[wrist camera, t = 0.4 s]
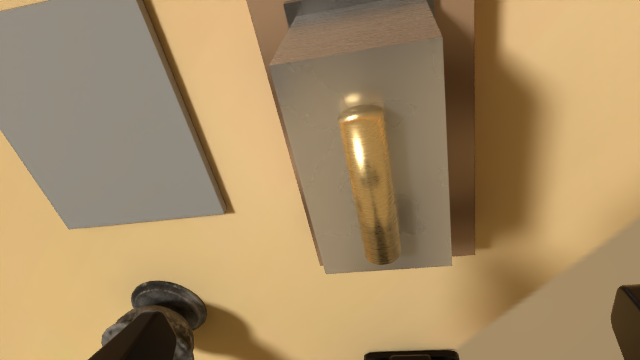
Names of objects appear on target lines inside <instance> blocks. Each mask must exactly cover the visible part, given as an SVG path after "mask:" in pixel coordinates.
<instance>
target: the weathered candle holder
mask: <svg viewBox="0 0 640 360" xmlns="http://www.w3.org/2000/svg"><path fill="white" fill-rule="evenodd" d="M131 302H132V306H133V308H134V309H132V310H131V311H129V312H127V313H126V314H125V315H124V316H122V317H121V318H120V319H118V321H117V322H116V324H114V325H112V326H110V327H109V328H107V329H106V331H105V332H104V334H103V335H102V342H101V343H102V346H104V345H105V344H106V343H108V342H109V341H110V340H111V339H112V338H113V337H114V336H115V335H117V334H118V333H119V332H120V331H121V330H122V329H123V328H124V327H126V326H127V325H128V324H129V323H130V322H131V321H132V320H134V319H135V318H136V317H137V316H138V315H139V314H141V313H142V312H145V311H162V312H163V313H164V314H165V316H166V318H167V319H168V321H169V323H170V324H171V326H172V328H173V330H174V331H175V333H176V337H177V345H176V350H175V354H174V359H173V360H194V355H193V349H194V339H193V332H192V330H195V329H197V328H199V327H200V326H201V325H202V324H203V323H204V322H205V319H206V316H207V313H206V308H205V306H204V304H203V302H202V301H201V300H200V298H199V297H198V296H197V295H195V294H194V293H193V292H191V291H190V290H188V289H186V288H184V287H182V286H180V285H177V284H174V283H171V282H165V281H149V282H146V283H143V284H141V285H139V286H138V287H136V289H135V290H134V292H133V293H132V297H131Z"/></svg>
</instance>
